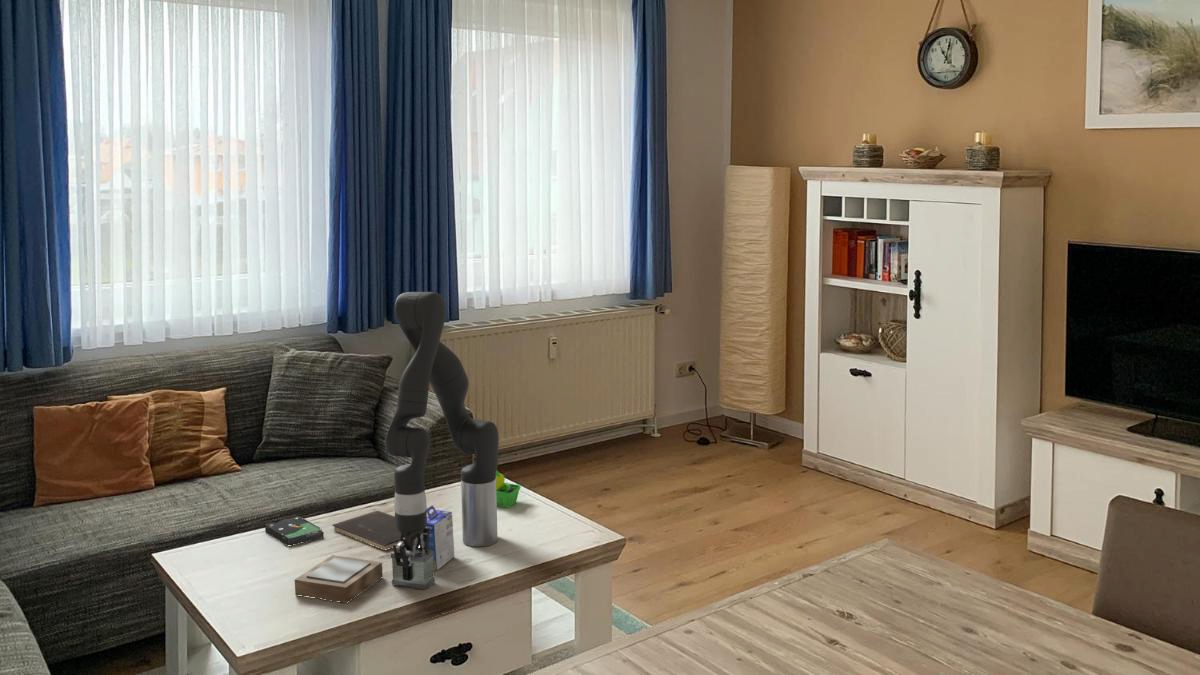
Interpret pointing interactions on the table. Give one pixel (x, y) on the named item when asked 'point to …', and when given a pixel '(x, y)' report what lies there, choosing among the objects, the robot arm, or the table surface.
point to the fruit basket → (505, 491)
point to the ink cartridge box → (440, 536)
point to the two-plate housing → (415, 570)
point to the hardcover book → (372, 529)
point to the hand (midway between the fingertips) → (413, 575)
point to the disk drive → (294, 530)
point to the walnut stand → (338, 578)
